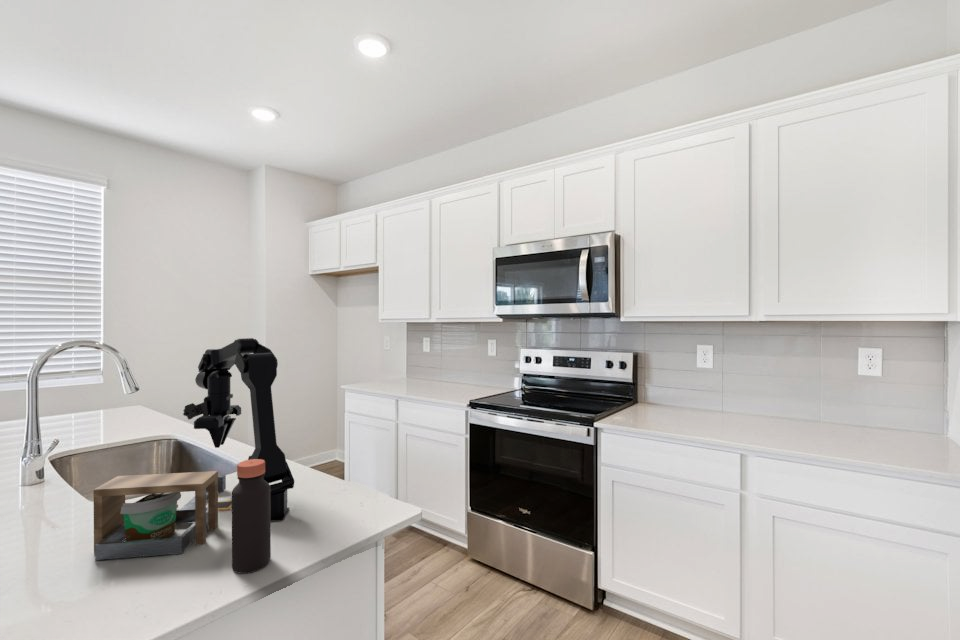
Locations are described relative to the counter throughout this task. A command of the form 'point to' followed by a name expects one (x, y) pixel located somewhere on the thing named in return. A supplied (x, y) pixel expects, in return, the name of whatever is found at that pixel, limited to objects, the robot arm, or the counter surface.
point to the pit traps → (224, 505)
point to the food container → (151, 516)
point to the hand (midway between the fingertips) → (219, 446)
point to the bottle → (251, 518)
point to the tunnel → (114, 492)
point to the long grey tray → (119, 548)
